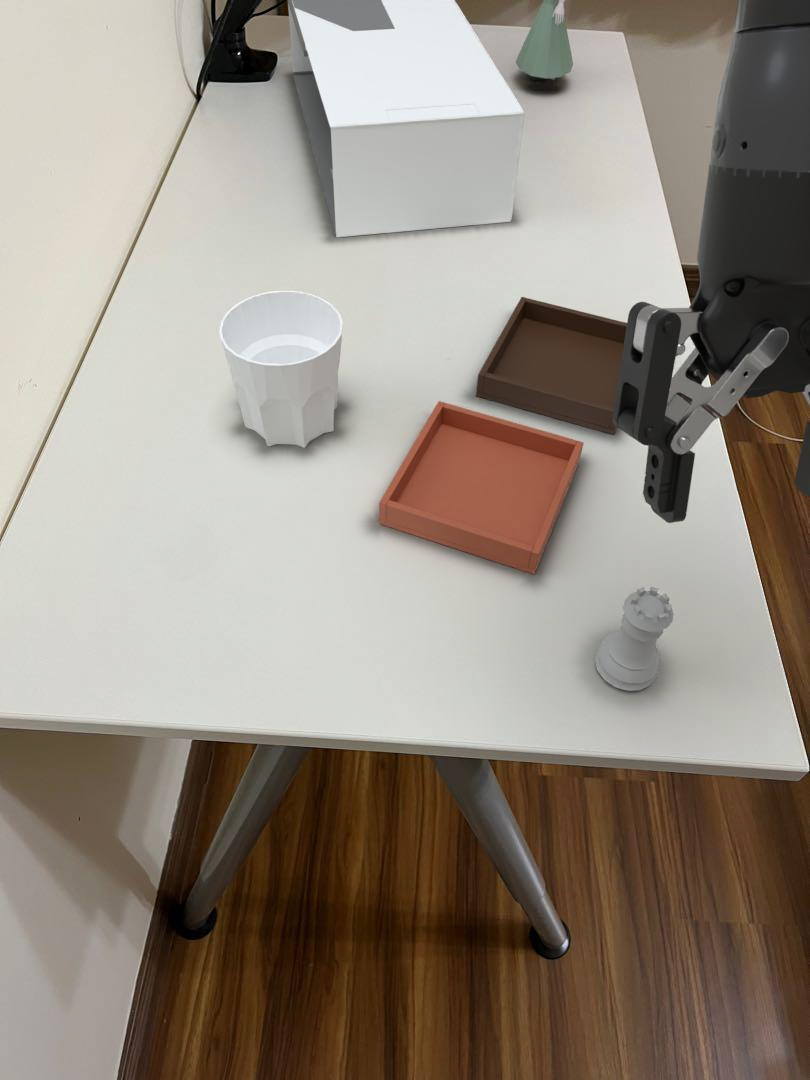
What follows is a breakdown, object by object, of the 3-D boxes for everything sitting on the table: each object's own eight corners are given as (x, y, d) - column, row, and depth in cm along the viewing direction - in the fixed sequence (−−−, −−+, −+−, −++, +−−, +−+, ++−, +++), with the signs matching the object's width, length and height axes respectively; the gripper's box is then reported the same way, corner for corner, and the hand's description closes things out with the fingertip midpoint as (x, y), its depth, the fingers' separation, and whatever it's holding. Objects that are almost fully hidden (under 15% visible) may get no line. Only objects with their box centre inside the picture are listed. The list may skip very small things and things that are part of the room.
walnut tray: (645, 350, 84) (651, 328, 82) (614, 435, 76) (620, 413, 74) (518, 318, 87) (521, 296, 85) (475, 396, 79) (478, 374, 77)
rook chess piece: (607, 630, 63) (631, 564, 56) (665, 657, 61) (696, 593, 55) (583, 675, 60) (606, 611, 54) (643, 705, 59) (673, 642, 53)
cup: (301, 367, 81) (292, 276, 74) (369, 420, 77) (367, 329, 69) (214, 413, 77) (195, 322, 69) (281, 472, 72) (268, 382, 65)
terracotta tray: (578, 463, 74) (584, 442, 72) (534, 574, 66) (539, 554, 64) (437, 422, 77) (438, 400, 75) (379, 524, 69) (378, 502, 67)
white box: (291, 72, 124) (283, -26, 114) (431, 64, 127) (434, -33, 117) (334, 238, 96) (329, 126, 86) (512, 222, 99) (526, 112, 89)
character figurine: (510, 57, 129) (525, -85, 115) (565, 59, 129) (586, -84, 115) (515, 103, 119) (532, -47, 105) (574, 105, 119) (598, -45, 105)
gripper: (705, 168, 31) (654, 559, 38) (1018, 154, 34) (915, 517, 41) (608, 158, 37) (580, 494, 45) (878, 147, 40) (811, 462, 48)
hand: (741, 505), depth 43 cm, fingers open, 8 cm apart
